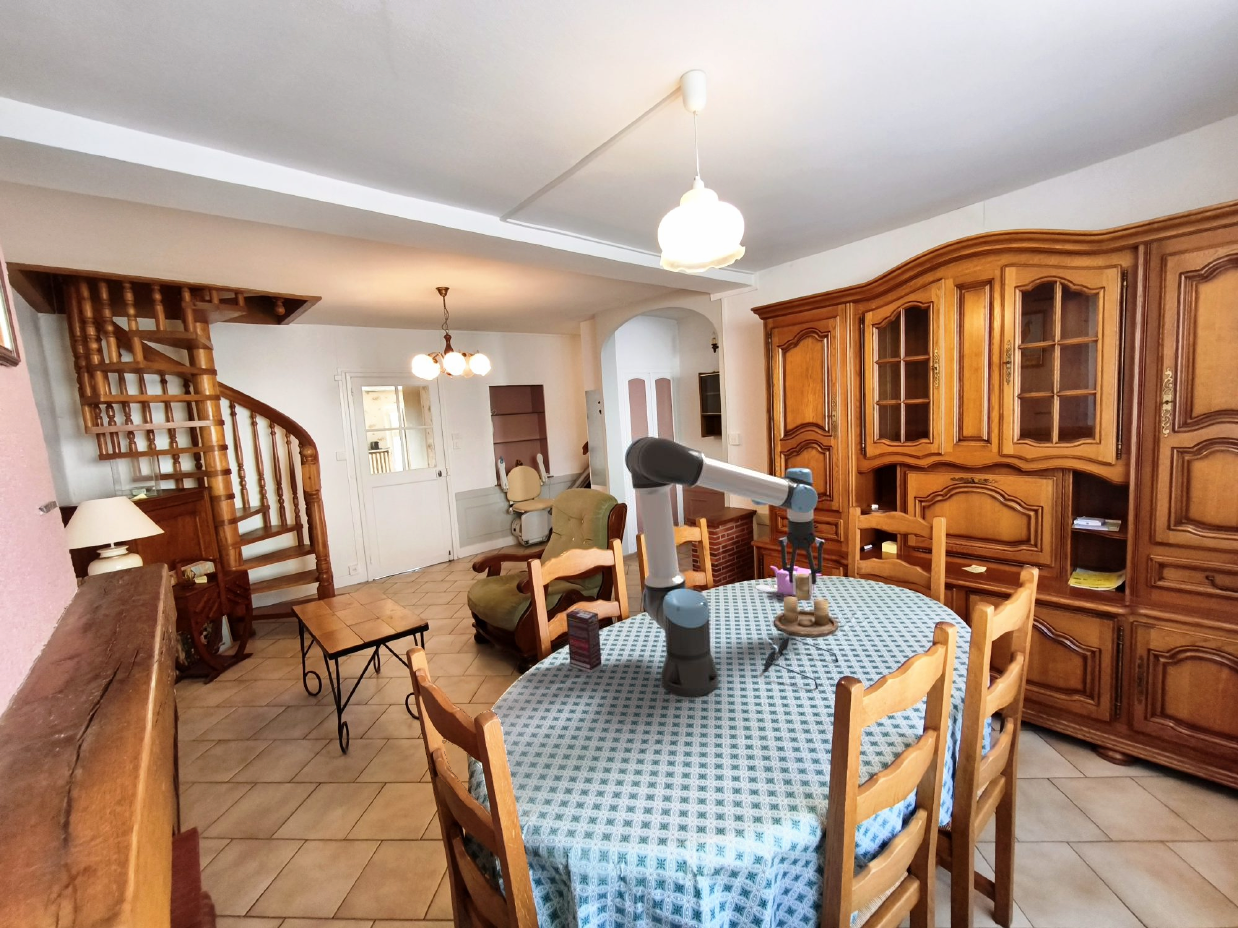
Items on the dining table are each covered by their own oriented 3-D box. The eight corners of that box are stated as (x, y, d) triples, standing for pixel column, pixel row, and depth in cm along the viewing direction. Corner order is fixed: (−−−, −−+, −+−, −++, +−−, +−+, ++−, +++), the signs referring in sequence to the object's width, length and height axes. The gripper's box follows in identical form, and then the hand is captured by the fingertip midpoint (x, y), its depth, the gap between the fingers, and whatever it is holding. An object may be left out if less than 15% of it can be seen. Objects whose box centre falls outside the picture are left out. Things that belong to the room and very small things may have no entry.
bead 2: (811, 595, 165) (810, 574, 164) (810, 600, 161) (809, 578, 160) (796, 594, 167) (795, 573, 166) (794, 599, 163) (794, 577, 162)
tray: (850, 635, 161) (849, 629, 161) (789, 642, 159) (789, 635, 159) (820, 612, 180) (820, 607, 180) (766, 618, 178) (765, 612, 178)
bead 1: (789, 615, 177) (789, 595, 176) (801, 619, 174) (800, 598, 173) (781, 619, 174) (780, 598, 174) (793, 623, 171) (792, 602, 170)
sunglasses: (786, 650, 155) (788, 634, 154) (838, 669, 146) (840, 652, 146) (762, 675, 142) (763, 658, 141) (817, 698, 133) (819, 680, 132)
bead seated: (831, 624, 168) (831, 603, 167) (818, 625, 168) (817, 604, 167) (824, 619, 172) (824, 598, 172) (811, 620, 172) (811, 599, 171)
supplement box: (602, 666, 152) (599, 612, 150) (591, 673, 148) (587, 618, 146) (580, 659, 157) (576, 607, 156) (569, 665, 153) (565, 612, 152)
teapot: (780, 602, 191) (779, 573, 190) (770, 590, 205) (769, 562, 204) (822, 600, 191) (822, 571, 190) (810, 588, 204) (809, 560, 203)
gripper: (831, 517, 161) (833, 591, 164) (773, 515, 168) (776, 587, 171) (830, 522, 154) (832, 600, 157) (769, 521, 161) (772, 595, 164)
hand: (803, 593), depth 164 cm, fingers closed on bead 2, 4 cm apart
